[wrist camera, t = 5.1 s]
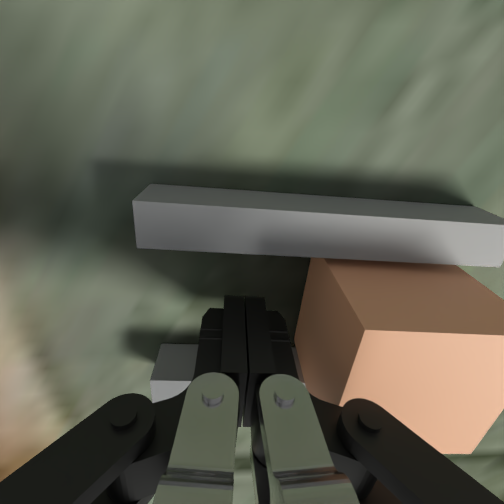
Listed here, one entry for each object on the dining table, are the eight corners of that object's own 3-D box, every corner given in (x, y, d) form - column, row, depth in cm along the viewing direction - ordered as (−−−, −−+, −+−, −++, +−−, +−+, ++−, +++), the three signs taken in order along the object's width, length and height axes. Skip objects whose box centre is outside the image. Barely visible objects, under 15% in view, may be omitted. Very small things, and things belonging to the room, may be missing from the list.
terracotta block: (314, 241, 11) (365, 330, 7) (435, 249, 12) (554, 337, 7) (293, 339, 14) (322, 453, 9) (396, 343, 14) (471, 453, 10)
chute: (150, 183, 10) (132, 200, 8) (475, 206, 11) (521, 226, 9) (163, 367, 14) (152, 405, 12) (402, 372, 15) (425, 408, 13)
